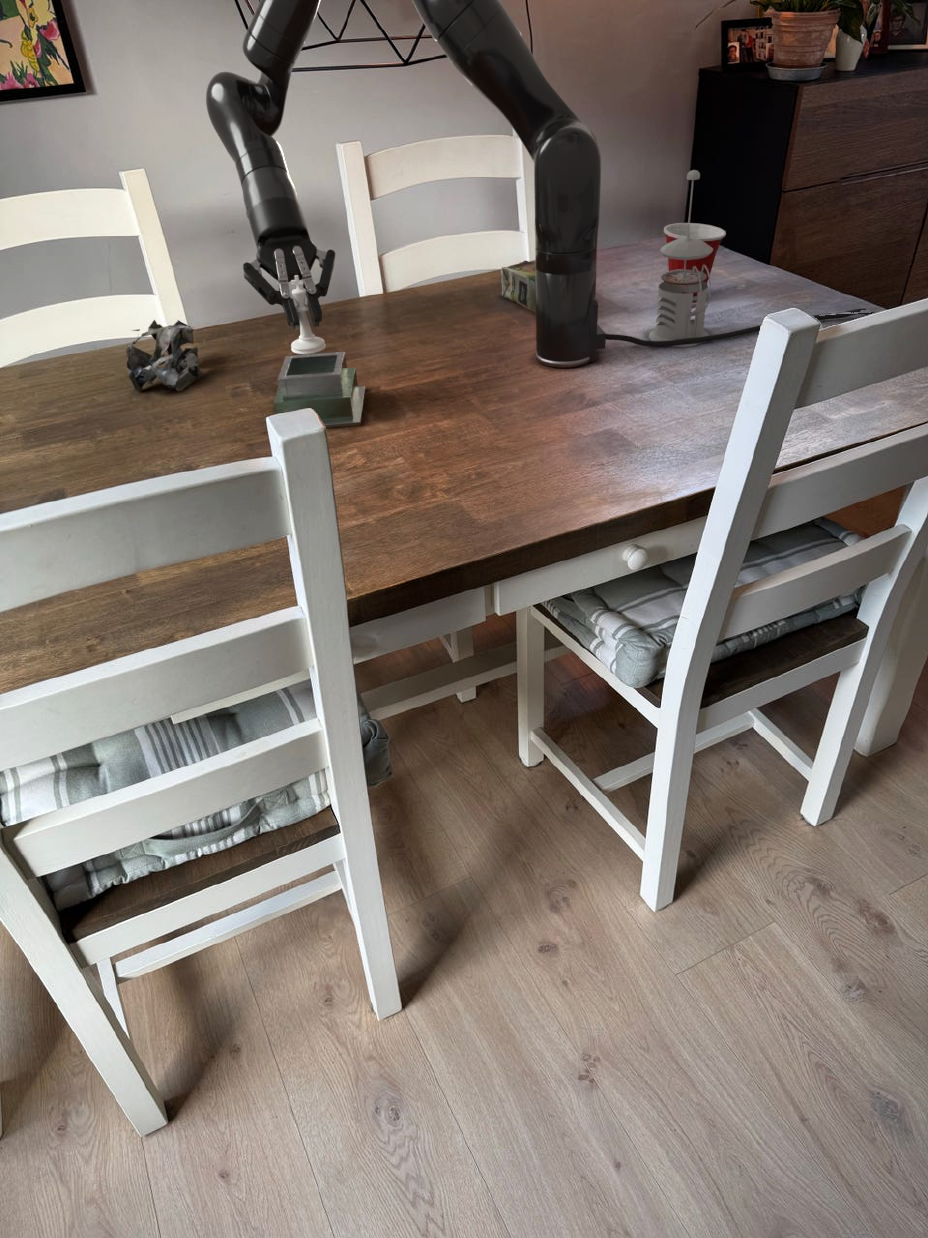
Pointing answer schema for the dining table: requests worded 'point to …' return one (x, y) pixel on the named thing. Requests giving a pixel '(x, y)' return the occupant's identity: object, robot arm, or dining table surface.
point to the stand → (321, 388)
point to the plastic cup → (696, 231)
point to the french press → (683, 289)
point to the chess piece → (304, 324)
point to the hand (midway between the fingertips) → (307, 324)
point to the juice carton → (520, 284)
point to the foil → (165, 358)
